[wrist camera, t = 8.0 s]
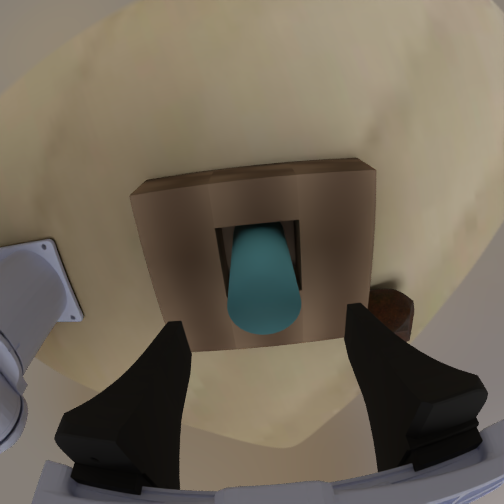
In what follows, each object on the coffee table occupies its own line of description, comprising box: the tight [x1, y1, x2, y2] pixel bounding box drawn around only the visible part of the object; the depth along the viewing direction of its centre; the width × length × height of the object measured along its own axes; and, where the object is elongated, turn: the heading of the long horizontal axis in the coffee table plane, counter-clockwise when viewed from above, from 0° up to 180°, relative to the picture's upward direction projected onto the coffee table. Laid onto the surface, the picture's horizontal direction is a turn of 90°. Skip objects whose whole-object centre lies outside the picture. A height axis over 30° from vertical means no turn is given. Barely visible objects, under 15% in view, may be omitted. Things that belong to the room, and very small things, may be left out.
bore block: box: [129, 158, 376, 352], centre depth 21 cm, size 14×12×4 cm
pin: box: [227, 221, 301, 335], centre depth 18 cm, size 3×3×8 cm
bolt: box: [368, 289, 414, 342], centre depth 25 cm, size 6×5×15 cm
